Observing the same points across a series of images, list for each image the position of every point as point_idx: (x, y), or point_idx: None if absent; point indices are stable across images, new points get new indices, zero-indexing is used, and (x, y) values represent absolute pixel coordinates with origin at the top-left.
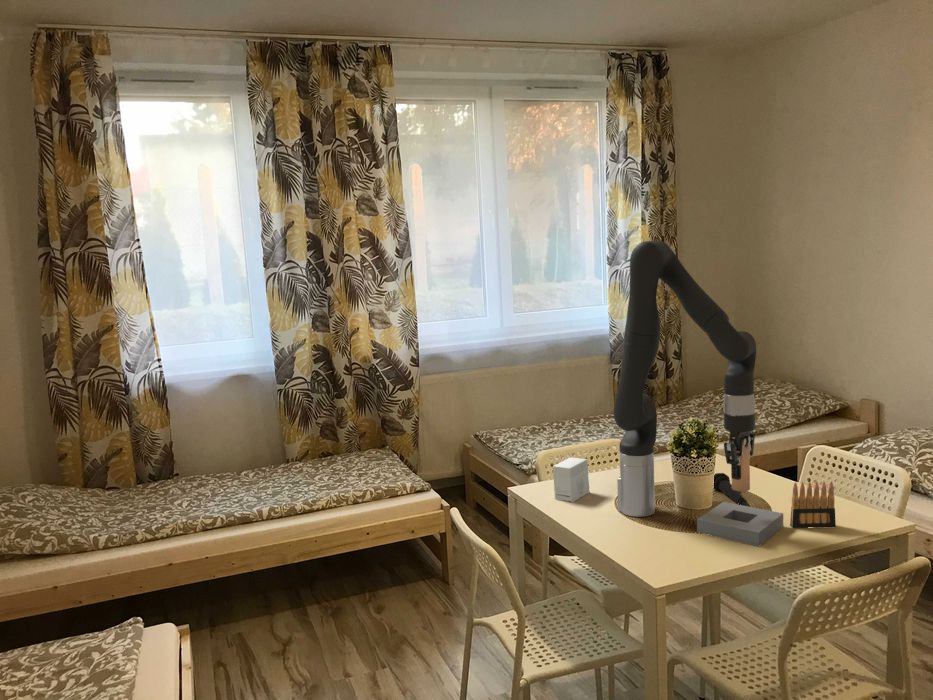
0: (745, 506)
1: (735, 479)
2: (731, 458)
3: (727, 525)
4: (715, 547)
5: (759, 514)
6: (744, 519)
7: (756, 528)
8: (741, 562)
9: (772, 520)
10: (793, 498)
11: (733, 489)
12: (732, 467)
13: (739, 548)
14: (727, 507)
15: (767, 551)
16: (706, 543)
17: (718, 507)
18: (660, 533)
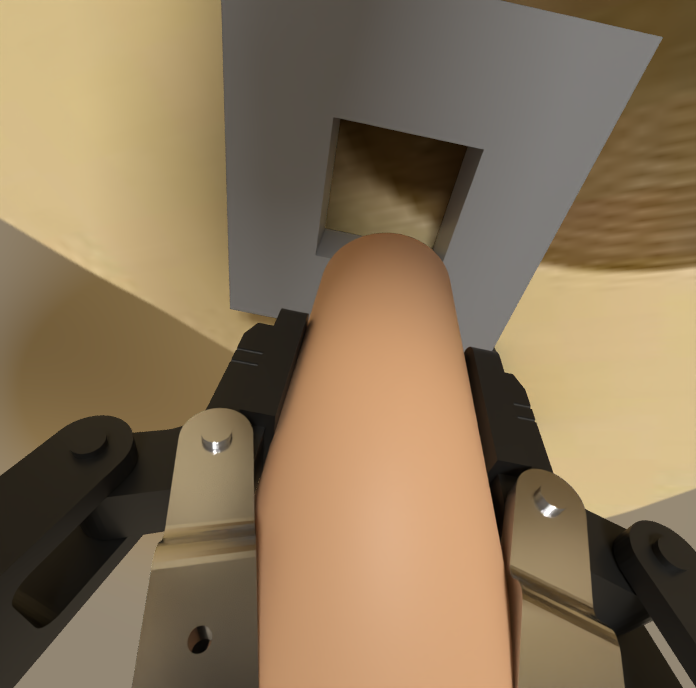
0: (564, 204)
1: (308, 322)
2: (172, 499)
3: (232, 174)
4: (131, 126)
5: None
6: (454, 202)
7: (267, 296)
8: (83, 250)
9: None
10: None
11: (334, 255)
12: (211, 404)
13: (188, 222)
14: (528, 101)
15: (223, 307)
16: (142, 67)
17: (519, 34)
18: None
